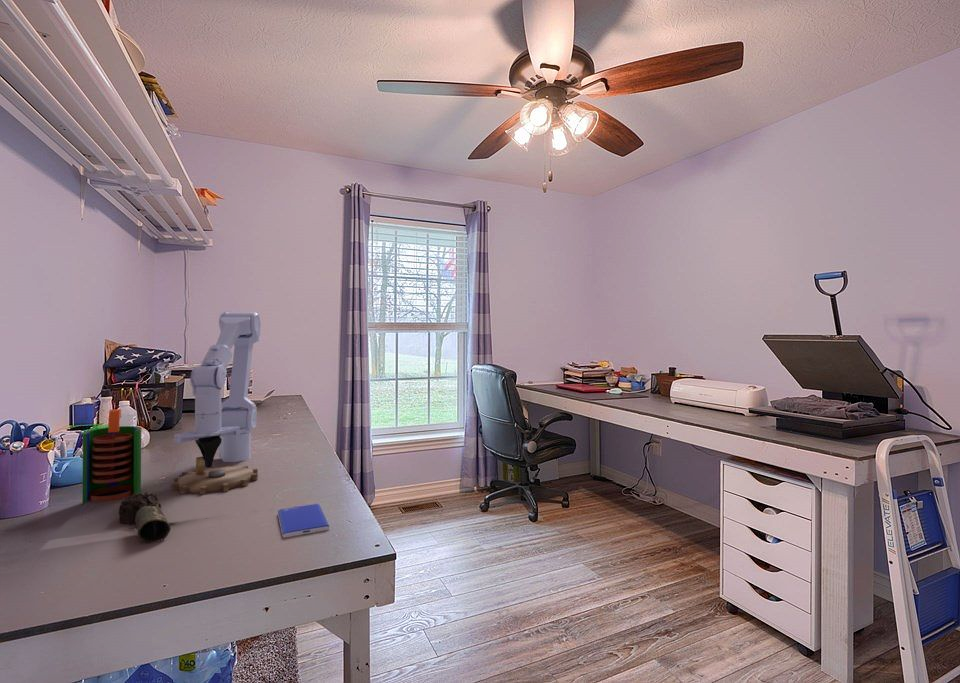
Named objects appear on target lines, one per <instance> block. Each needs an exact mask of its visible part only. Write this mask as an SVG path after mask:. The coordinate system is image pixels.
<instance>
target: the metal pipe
mask: <svg viewBox="0 0 960 683" xmlns="http://www.w3.org/2000/svg"><path fill="white" fill-rule="evenodd" d="M161 508H162V506H161V504H160V502H159V499H158V498H157V494H153V493H148V491H145V493H139V494H138V493H135V494H133V495H131V496H129V497H126V498H124V500H123V501H121V503H120V505H119V507H118V516H119V522H118V523H119V524H120V525H128V526H133V525H136V526H135V527H136V530H137V531H136V532H137V538H138V539H139V540H140V541H142V542H143V543H145V544H146V543H147V544H151V542H152V543H154V542H155V543H156V542H159V541H158V540H160V541H162V540H161V539H163V540H164V539H165V538H167V537H168V535H169V533H170V532H171V526H170V523H169V522H168V520H167V518H166V516H165V514H164V512H163V511H162V510H161ZM127 529H129V528H127Z"/></svg>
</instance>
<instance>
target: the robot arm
mask: <svg viewBox="0 0 960 683" xmlns="http://www.w3.org/2000/svg"><path fill="white" fill-rule="evenodd" d="M218 326H219V330H220V333H219V337H218V339H217V341H216V344H213V345H210V347H209V348H208V350H207V352H206V354H205V355H204V358H203V359H202V361H201V364H199V365H198V366H196V367H193V369H192V370H191V373H190V378H189V381H190V386H191V388H192V395H193V396H194V401H195V402H194V430H192V431H187V432H181V433H177V434H176V433H175V434H174V435H173V443H175V444H182V443H186V442H192V441H195V444H196V446H197V447H198V448H199V451H200V453H201V455H202V457H204V467H206V468H212V467H213V462H214V458H215V455H216V453H217V451H218V460H222V462H224V463H237V462H244V461H248V460H250V459H251V432H252V431H254V429H255V428H256V427H257V422H258V413H257V410H258V409H257V405H256V403H255V402H254V401H252V400H250V399H249V397H248V395H249V385H250V375H251V365H252V356H253V348H254V344H255V343H257V342H259V340H260V336H261V318H260V315H259V313H257V312H255V311H253V312H227V311H223V312H222V313H221V314H220V316H219V318H218ZM233 346H234V347H233ZM232 348H234V349H233V353H232ZM232 357H233V359H232ZM231 359H232V365H231V366H232V367H231V377H230V384H229V394H228V398H227V399H225V400H224V401H222V388H223V387H224V386H225V385H226V382H227V381H226V380H227V374H228V373H227V372H228V370H227V368H228V366H229V364H230V362H231Z"/></svg>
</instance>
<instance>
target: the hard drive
mask: <svg viewBox="0 0 960 683" xmlns="http://www.w3.org/2000/svg"><path fill="white" fill-rule="evenodd" d="M277 516H278V520H279V525H280V526H279V527H280V530H281V535H282V538H283V539H284V538H290V537H297V536H301V535H306V534H311V533H313V534H314V533H319V532H324V531H328V530H330V525H329V522H328V521H327V518H326V516H325V514H324V512H323V510H322V508H321V506H320V504H319V503H313V504H307V505H299V506H294V507H287V508H281V509H278V510H277Z"/></svg>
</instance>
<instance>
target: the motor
mask: <svg viewBox="0 0 960 683" xmlns="http://www.w3.org/2000/svg"><path fill="white" fill-rule="evenodd" d="M121 418H122V409H121V408H117V409H109V412H108V426H107V427H100V428H96V429H90V430H86V431H84V432H82V488H81V489H82V493H81V494H82V502H81V503H82V504H81V505H82V506H84V505H85V504H86V503H87V501H90V502H94V503H106V502H113V501H118V500H123V499H126V498H128V497H130V496H131V495H133V494H135V493H138V494H139V493H140V494H142V427H141V426H133V425H132V426H131V425H128V426H127V425H123V426H122V425H120V420H121ZM117 491H118V492H119V491H121V492H122V493H118V494H112V495H103V494H106V493H111V492H117ZM123 491H124V492H123ZM101 495H102V496H101Z"/></svg>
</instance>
